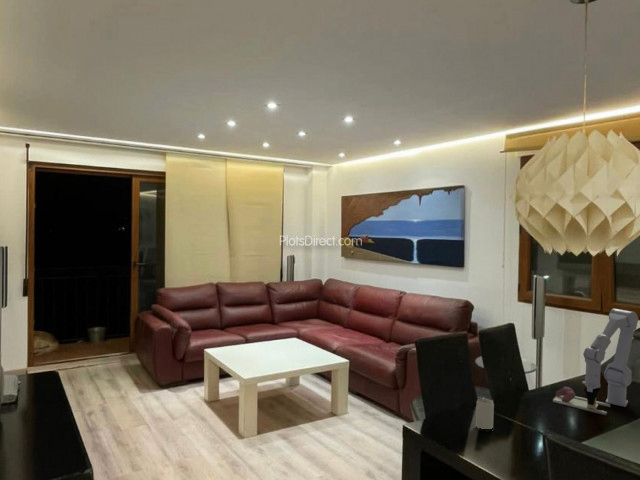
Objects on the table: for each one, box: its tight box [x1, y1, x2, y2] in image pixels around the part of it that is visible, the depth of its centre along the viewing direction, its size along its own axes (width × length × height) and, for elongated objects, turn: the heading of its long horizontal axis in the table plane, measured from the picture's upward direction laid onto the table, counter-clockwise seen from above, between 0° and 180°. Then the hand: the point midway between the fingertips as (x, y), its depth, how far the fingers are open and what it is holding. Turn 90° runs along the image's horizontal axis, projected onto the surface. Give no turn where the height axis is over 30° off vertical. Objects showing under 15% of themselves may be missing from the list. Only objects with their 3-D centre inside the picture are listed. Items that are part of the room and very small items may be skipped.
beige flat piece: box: [553, 395, 599, 409], centre depth 205 cm, size 10×17×4 cm, turn 50°
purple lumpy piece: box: [555, 385, 576, 402], centre depth 207 cm, size 10×5×7 cm, turn 169°
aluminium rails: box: [552, 395, 611, 416], centre depth 203 cm, size 13×21×1 cm, turn 50°
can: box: [475, 396, 495, 429], centre depth 173 cm, size 6×6×12 cm
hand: (591, 403), depth 200 cm, fingers closed on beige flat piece, 3 cm apart
